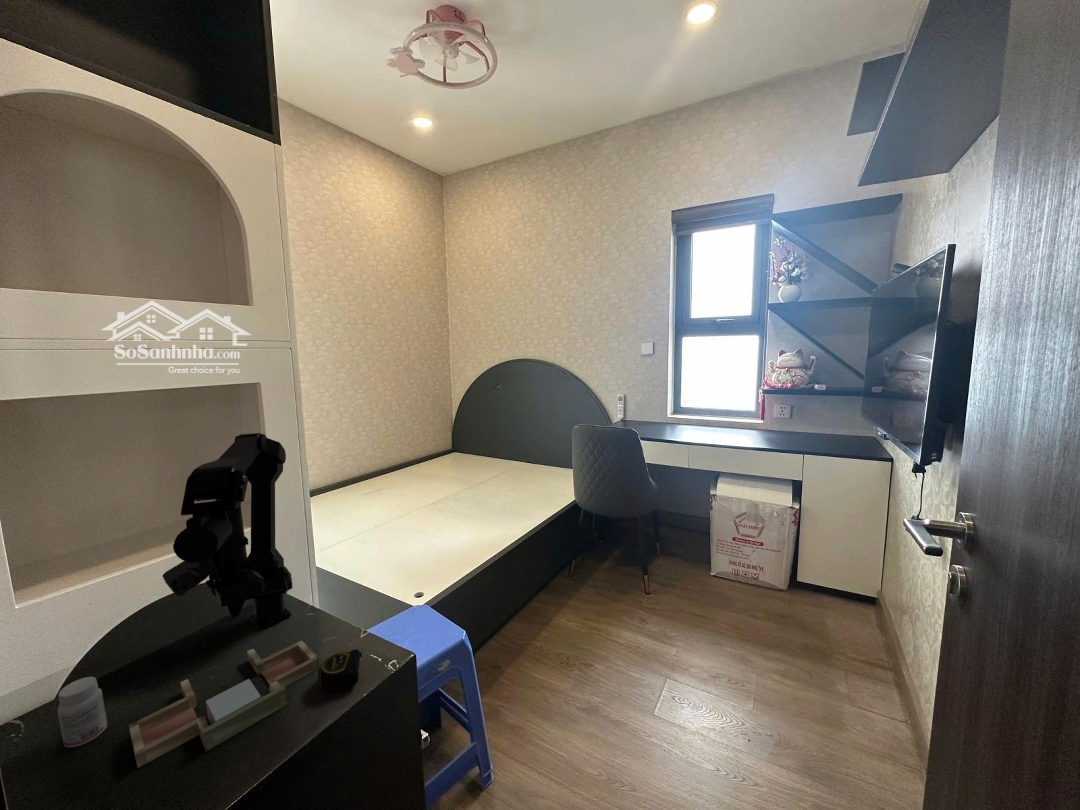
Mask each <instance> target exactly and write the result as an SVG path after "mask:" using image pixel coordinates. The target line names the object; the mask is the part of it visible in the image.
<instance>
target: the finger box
mask: <svg viewBox="0 0 1080 810" xmlns="http://www.w3.org/2000/svg"><path fill="white" fill-rule="evenodd" d="M246 651H247V652H246V653H247V661H248V663H249V664H250V666H251V667H252V669H253V670H254V671H255V673H256V674H257V676H260V675H262V677H263V678H264V680H265V681H266V682H267V684H268V689H269V693H267V694H265V695H263V696H261V698H259V699H258V700H256V701H254V702H252V703H250V704H248V705H247V706H245V707H243V708H241V709H239V710H237V711H236V712H234V713H232V714H230V715H228V716H227V717H225V718H223V719H221V720H219V721H217V722H216V723H214V724H212V725H211V724H210V725H209V723H208V721H207V719H206V716H205V715H202V716H200V717H198V716H197V714H196V711H195V708H198V705H197V700H196V699H197V698H196V694H195V692H194V690H193V688H192V685H191V683H190V681H189V679H188V678H187V679H185V680H183V681H181V682H179V683H180V690H181V694H182V696H183V698H182V699H179V700H177V701H175V702H173V703H171V704H169V705H167V706H164V707H163V708H161V709H159V710H156V711H154V712H153V713H150V714H149V715H146V716H144V717H143V718H140V719H139V720H136V721H134V722H131V723H130V724H129V725H128V730H129V736H130V739H131V745H132V749H133V753H134V758H135V762H136V767H137V769H139V768H141V767H143V766H145V765H146V764H149V763H151V762H152V761H154V760H156V759H158V758H159V757H161V756H163V755H165V754H167V753H168V752H170V751H172V750H174V749H176V748H178V747H179V746H181V745H182V744H185V743H187V742H188V741H190V740H192V739H194V738H196V737H198V736H199V738H200V740H201V743H202V744H203V748H204V750H205V752H208V751H210V750H212V749H213V748H214V747H217V746H219V745H220V744H222V743H224V742H225V741H227V740H228V739H229V740H230V738H232V737H234V736H235V735H238V734H239V733H241V732H242V731H245V730H246V729H247V728H249V727H251V726H253V725H254V724H257V722H259V721H261V720H263V719H265V718H266V717H268V716H270V715H272V714H274V713H276V712H277V711H278V710H280V709H283V708H284V707H285V706H287V705H288V698H287V689H286V687H288V686H290V685H292V684H293V683H295V682H297V681H299V680H301V679H302V678H305V677H306V676H308V675H310V674H312V673H313V672H315V671H317V670H319V668H320V660H319V657H318V656H317V655H316V654H315V653H314V651H312V650H311V648H309V646H308V645H307V644H306V643H305V642H304V641H303V640H300V641H297V642H296V643H293V644H291V645H290V646H287V647H285V648H283V649H281V650H279V651H277V652H275V653H273V654H271V655H269V656H267V657H264V658H263V659H261V657H260V655H258V653H257V652H256V650H255V649H254V648H252V649H249V650H246Z"/></svg>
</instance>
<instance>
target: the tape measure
mask: <svg viewBox="0 0 1080 810" xmlns="http://www.w3.org/2000/svg"><path fill="white" fill-rule="evenodd" d="M362 654H363V652H360V650H359V649H357V648H355V649H352V650H350V651H340V652H336V653H334V654H331V655H330V656H328V657H327V658H326V659H324V660H323V661H322V663H321V664H320V665H319V669H318V671H317V672H318V674H317V675H318V677H317V678H318V684H319V686H320V687H321V689H323V690H324V691H325V692H339V691H340V690H343V689H344V690H345V689H346V688H349V687H352V686H354V685H356V684H358V682H359V676H360V675H359V672H360V671H359V668H360V661H361V658H362Z"/></svg>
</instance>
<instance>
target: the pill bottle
mask: <svg viewBox="0 0 1080 810" xmlns="http://www.w3.org/2000/svg"><path fill="white" fill-rule="evenodd" d="M102 691H103V690H102V689H101V688H100V687H99V685H98V681H97V678H96V677H94V676H87V677H82V678H80V679H77V680H74V681H73V682H70V683H69V684H67V685H66V686H64V687H63V688H62V689H61V690H59V692H58V694H57V695H58V702H59V705H58V707H57V716H58V722H59V727H60V733H61V738H62V743H63V745H64V747H65V748H76V747H80V746H83V745H86V744H87V743H89V742H91V741H93V740H94V739H96V738H97V737H99V736H100V735H101V734H102V733H103V732H104V731H105V730H106V729H107V727H108V719H107V713H106V712H107V711H106V707H105V702H104V697H103V692H102Z"/></svg>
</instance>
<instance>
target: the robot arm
mask: <svg viewBox="0 0 1080 810" xmlns="http://www.w3.org/2000/svg"><path fill="white" fill-rule="evenodd" d="M286 457H287V455H286V449H285V448H284V445H282V443H281V442H280V441H276V440H273V439H272V438H269V437H267V435H266V434H264V433H261V432H253V433H241V434H239V435H236V436H235V437H234V441H233V443H232V444H231V445H230V446H228V448H227V449H226V450H225V451H224V452H223V453H222V454H221V455H220V457H219V458H216V460H214V461H210V462H206V463H203V464H201V465H199V466H197V467H196V468H194V469H193V470H192V471H191V472H190V475H189V476H188V477H187V480H186V483H185V490H184V494H183V499H182V505H181V508H180V516H182V517H183V516H189V515H190V516H191V515H192V517H189V518H188V519H187V520H186V521H185V525H186V527H185V528H184V529H183V530H182V531H180V532H179V533H178V534H177V535H176V537H175V539H174V540H173V541H174V542H173V544H172V549H173V552H174V554H175V556H176V557H177V558H178V559H180V560H182V562H179V563H178V564H177V565H175V566H173V567H171V568H170V569H168V570H167V571H165V572H164V573H163V574H162V578H163V580H164V582H165V584H166V585H167V586H168V587H169V589H170V590H171V591H172V592H173V594H174V595H175V597H181V596H184V595H185V594H186V593H188V592H189V591H190V590H191V589H193V588H195V587H197V586H198V585H200V584H201V583H202V582H203V581H205V580H206V579H208V580H206V581H205V584H206V585H207V587H208V589H210V592H211V594H212V595H213V596H214V597H216V600H217V602H218V603H219V605H220V606H221V607H225V608H226V611H227V612H228V615H229V616H230V619H232V620H233V619H236V618H238V617H239V616H240V614H241V611H242V609H243V607H244V604H245V602H247V600H252V603H253V613H254V614H253V615H251V616H249V620H250V621H251V623H252V624H253V623H254V624H253V625H254V626H255V628H258V629H260V630H263V629H265V628H267V627H269V626H271V624H272V625H273V624H276V623H278V621H279V622H281V621H282V620H285V619H287V618H290V617H291V616H292V613H291V612H290V610H288V609H287V607H286V606H285V598H284V597H285V596H284V594H287V593H288V591H290V590H291V589H293V579H292V573H291V572H290V571H289V570H288V568H287V567H286V566H285V561H284V560H285V559H284V557H283V556H282V554H281V553H280V552H279V550H278V549H277V548H276V482H277V481H278V479H279V478H280V477H281V475H282V474H283V472H284V464H285V463H286V459H287V458H286ZM248 483H249V484H250V550H249V551H250V552H249V554H247V546H249V539H248V538H247V536H245V530H244V529H245V528H244V522H243V521H244V520H243V511H242V506H241V504H242V502H245V497H246V492H247V488H248ZM264 627H265V628H264ZM262 628H263V629H262ZM258 629H257V630H258Z"/></svg>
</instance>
